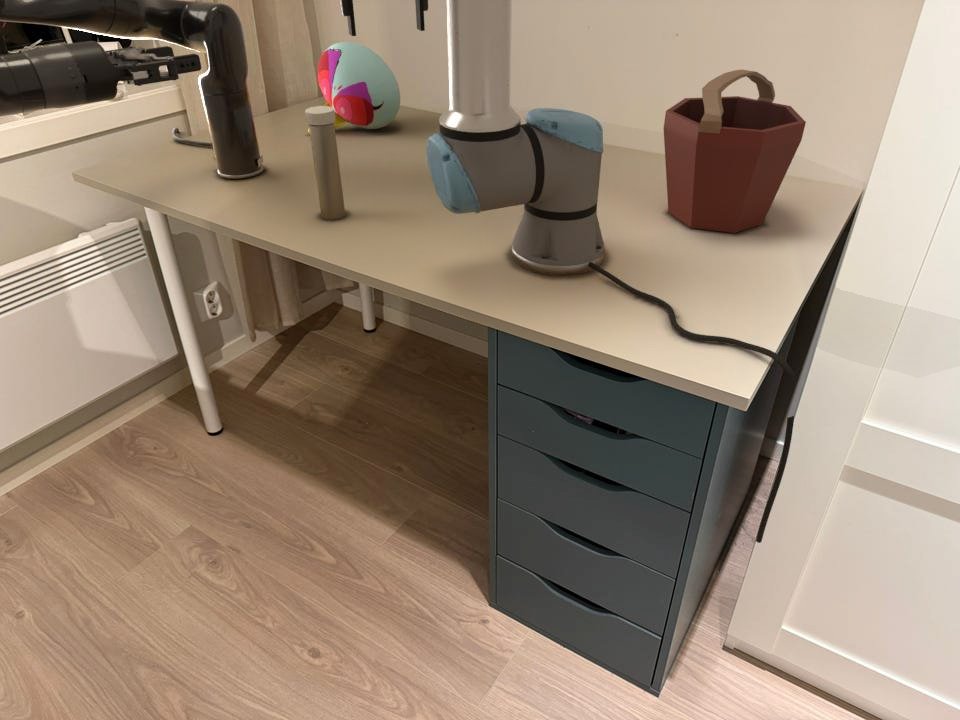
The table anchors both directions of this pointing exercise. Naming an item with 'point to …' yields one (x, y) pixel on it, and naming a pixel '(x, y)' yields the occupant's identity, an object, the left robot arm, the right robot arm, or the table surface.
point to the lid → (320, 115)
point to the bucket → (728, 154)
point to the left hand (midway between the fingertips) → (185, 57)
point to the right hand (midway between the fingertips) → (387, 32)
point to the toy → (358, 86)
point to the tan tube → (327, 171)
